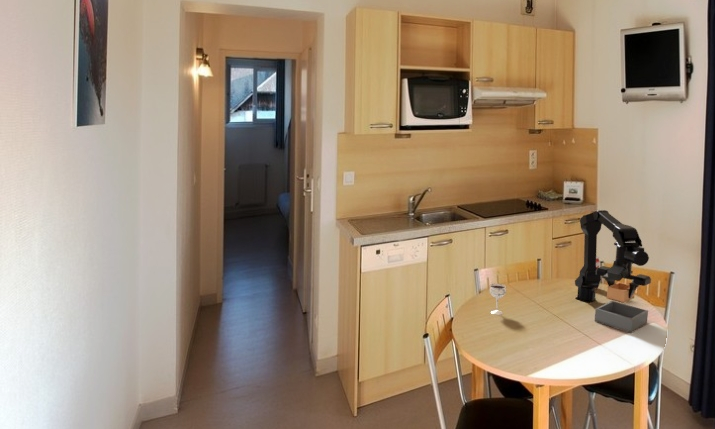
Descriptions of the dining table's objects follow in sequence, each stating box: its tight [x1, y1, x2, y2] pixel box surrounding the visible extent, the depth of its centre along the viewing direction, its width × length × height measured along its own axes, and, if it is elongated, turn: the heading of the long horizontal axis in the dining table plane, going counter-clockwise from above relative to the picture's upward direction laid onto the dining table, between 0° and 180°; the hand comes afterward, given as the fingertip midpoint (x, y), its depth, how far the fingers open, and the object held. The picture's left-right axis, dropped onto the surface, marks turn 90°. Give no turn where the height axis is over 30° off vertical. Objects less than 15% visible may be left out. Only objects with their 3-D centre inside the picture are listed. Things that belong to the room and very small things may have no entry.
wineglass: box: [489, 283, 507, 316], centre depth 196 cm, size 7×7×12 cm
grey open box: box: [594, 300, 649, 334], centre depth 184 cm, size 14×14×6 cm
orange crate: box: [606, 281, 636, 304], centre depth 183 cm, size 6×9×5 cm
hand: (620, 295), depth 183 cm, fingers closed on orange crate, 6 cm apart
